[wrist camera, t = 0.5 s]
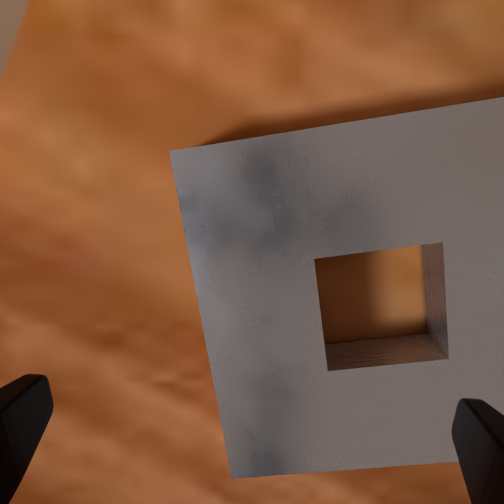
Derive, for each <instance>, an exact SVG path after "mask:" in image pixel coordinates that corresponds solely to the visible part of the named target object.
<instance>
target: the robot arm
mask: <svg viewBox="0 0 504 504" xmlns="http://www.w3.org/2000/svg"><path fill="white" fill-rule="evenodd" d="M52 412H53V399H52V395H51V390H50V386H49V381H48V378H47V377H46V376H45V375H40V374H26V375H24V376H22V377H20V378H18V379H16V380H14V381H12V382H11V383H9V384H7V385H5V386H3V387H1V388H0V504H9V502H10V500H11V499H12V497H13V495H14V493H15V492H16V490H17V488H18V486H19V484H20V482H21V481H22V479H23V476H24V474H25V472H26V470H27V468H28V466H29V464H30V462H31V459H32V457H33V455H34V453H35V450H36V448H37V446H38V444H39V442H40V439H41V437H42V435H43V433H44V431H45V428H46V426H47V424H48V422H49V420H50V417H51V415H52ZM451 433H452V440H453V443H454V446H455V450H456V453H457V457H458V460H459V463H460V467H461V470H462V473H463V477H464V480H465V484H466V487H467V490H468V494H469V497H470V500H471V504H504V415H503V414H502V413H500V412H499V411H497V410H496V409H495V408H493V407H492V406H491V405H489V404H488V403H486V402H485V401H483V400H481V399H475V398H462V399H460V400H459V401H458V404H457V408H456V412H455V416H454V420H453V424H452V429H451Z"/></svg>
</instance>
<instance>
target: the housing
mask: <svg viewBox="0 0 504 504" xmlns="http://www.w3.org/2000/svg"><path fill="white" fill-rule="evenodd" d="M169 153H170V159H171V164H172V169H173V174H174V179H175V185H176V190H177V195H178V200H179V205H180V211H181V216H182V221H183V226H184V232H185V237H186V242H187V247H188V252H189V258H190V263H191V268H192V273H193V278H194V284H195V289H196V294H197V299H198V304H199V310H200V315H201V320H202V325H203V330H204V336H205V341H206V346H207V351H208V357H209V362H210V367H211V372H212V377H213V383H214V388H215V393H216V398H217V403H218V409H219V414H220V419H221V424H222V429H223V435H224V440H225V445H226V450H227V456H228V461H229V466H230V471H231V476H232V479H233V478H246V477H259V476H272V475H285V474H299V473H312V472H325V471H338V470H351V469H365V468H378V467H391V466H404V465H417V464H431V463H444V462H457V461H459V460H458V457H457V453H456V450H455V446H454V443H453V440H452V433H451V429H452V424H453V420H454V416H455V412H456V408H457V404H458V401H459V400H460V399H462V398H475V399H481V400H483V401H485V402H486V403H488V404H489V405H491V406H492V407H493V408H495V409H496V410H497V411H499V412H500V413H502V414H503V415H504V97H500V98H494V99H487V100H481V101H475V102H469V103H463V104H457V105H451V106H444V107H438V108H432V109H426V110H420V111H414V112H407V113H401V114H395V115H389V116H383V117H377V118H371V119H364V120H358V121H352V122H346V123H340V124H334V125H328V126H321V127H315V128H309V129H303V130H297V131H291V132H284V133H278V134H272V135H266V136H260V137H254V138H248V139H241V140H235V141H229V142H223V143H217V144H211V145H205V146H198V147H192V148H186V149H180V150H174V151H169ZM417 245H422V249H423V266H424V282H425V298H426V314H427V331H428V333H427V334H418V335H408V336H399V337H390V338H380V339H371V340H362V341H353V342H343V343H334V344H325V345H324V336H323V328H322V320H321V312H320V304H319V296H318V287H317V279H316V271H315V263H314V259H317V258H324V257H332V256H340V255H347V254H355V253H363V252H371V251H378V250H386V249H394V248H402V247H409V246H417Z"/></svg>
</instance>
